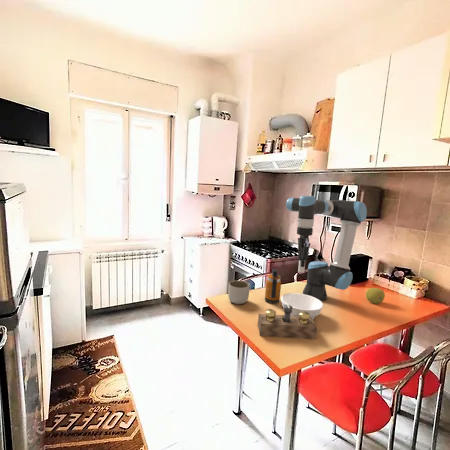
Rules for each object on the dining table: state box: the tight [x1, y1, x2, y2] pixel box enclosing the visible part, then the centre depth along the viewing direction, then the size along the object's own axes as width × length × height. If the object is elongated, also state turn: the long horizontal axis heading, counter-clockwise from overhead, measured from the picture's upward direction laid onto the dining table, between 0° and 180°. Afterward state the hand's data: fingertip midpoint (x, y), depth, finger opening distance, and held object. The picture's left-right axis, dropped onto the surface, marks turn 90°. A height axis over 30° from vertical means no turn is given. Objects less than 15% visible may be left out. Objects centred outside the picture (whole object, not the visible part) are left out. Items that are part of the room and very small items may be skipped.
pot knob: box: [283, 305, 292, 322], centre depth 129 cm, size 4×4×10 cm
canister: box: [264, 268, 282, 304], centre depth 164 cm, size 9×11×20 cm
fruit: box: [365, 287, 385, 305], centre depth 173 cm, size 10×11×10 cm
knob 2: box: [299, 311, 310, 324], centre depth 130 cm, size 5×5×9 cm
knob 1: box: [264, 309, 277, 321], centre depth 130 cm, size 5×5×9 cm
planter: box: [227, 280, 251, 305], centre depth 162 cm, size 12×12×11 cm
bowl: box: [280, 292, 324, 321], centre depth 149 cm, size 22×22×8 cm
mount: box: [257, 313, 318, 340], centre depth 130 cm, size 26×10×6 cm, turn 89°
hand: (301, 272), depth 139 cm, fingers closed
